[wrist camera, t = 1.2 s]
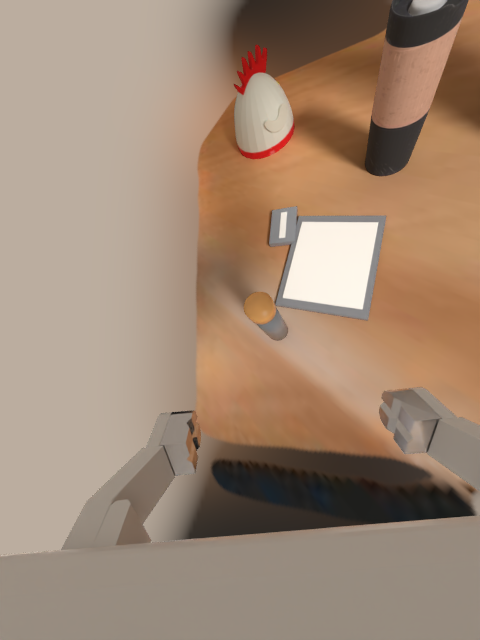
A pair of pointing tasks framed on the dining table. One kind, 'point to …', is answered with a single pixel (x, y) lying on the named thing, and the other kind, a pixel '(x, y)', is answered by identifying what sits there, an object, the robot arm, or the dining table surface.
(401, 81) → the travel mug
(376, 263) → the paper pad
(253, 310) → the marker
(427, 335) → the dining table surface
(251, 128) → the kitchen timer
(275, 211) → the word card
